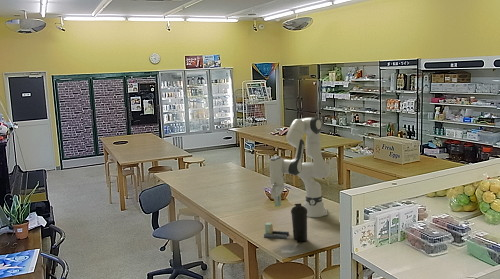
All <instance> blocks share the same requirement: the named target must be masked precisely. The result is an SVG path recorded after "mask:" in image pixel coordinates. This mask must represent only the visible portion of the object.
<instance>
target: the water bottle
mask: <svg viewBox="0 0 500 279" xmlns="http://www.w3.org/2000/svg"><path fill="white" fill-rule="evenodd" d="M290 215H291V221H292V222H291V223H292V236H293V240H294V241H296V243H297V244H303V243H306V242H308V216H307V209H306V208H305V207H304V205H302V203H294V206H293V207H292V208H291V210H290Z"/></svg>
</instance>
